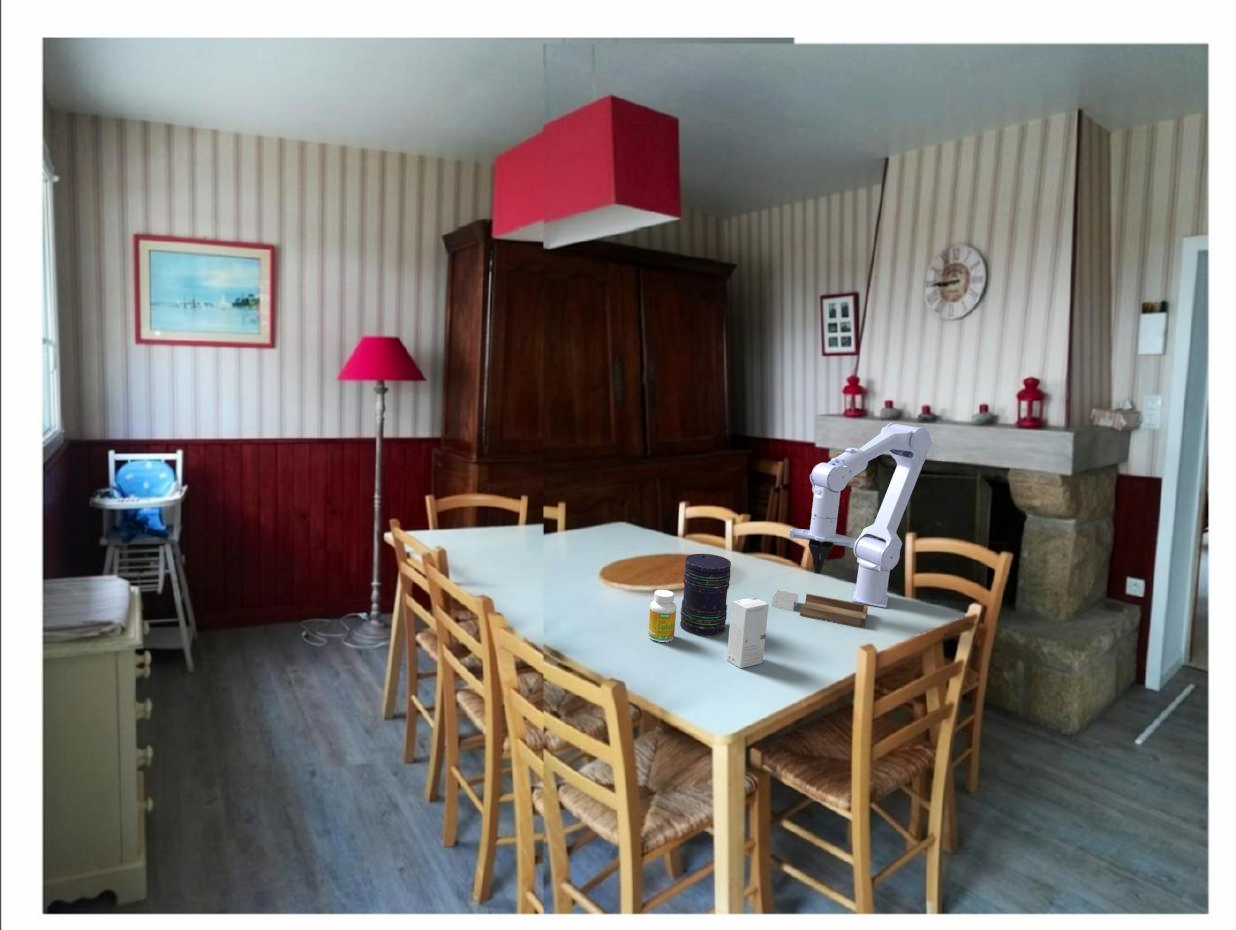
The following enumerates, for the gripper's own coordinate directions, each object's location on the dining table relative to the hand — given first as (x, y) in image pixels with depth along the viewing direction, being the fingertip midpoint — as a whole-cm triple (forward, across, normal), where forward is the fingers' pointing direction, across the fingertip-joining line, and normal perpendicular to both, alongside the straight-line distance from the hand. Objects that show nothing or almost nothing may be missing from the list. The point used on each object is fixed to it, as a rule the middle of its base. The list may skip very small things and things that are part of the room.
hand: (818, 572), depth 168 cm
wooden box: (+9, +5, -1) cm, 10 cm away
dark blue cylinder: (+9, -20, -24) cm, 33 cm away
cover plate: (+10, -7, 0) cm, 12 cm away
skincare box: (+9, -8, -36) cm, 38 cm away
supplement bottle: (+9, -26, -34) cm, 44 cm away
